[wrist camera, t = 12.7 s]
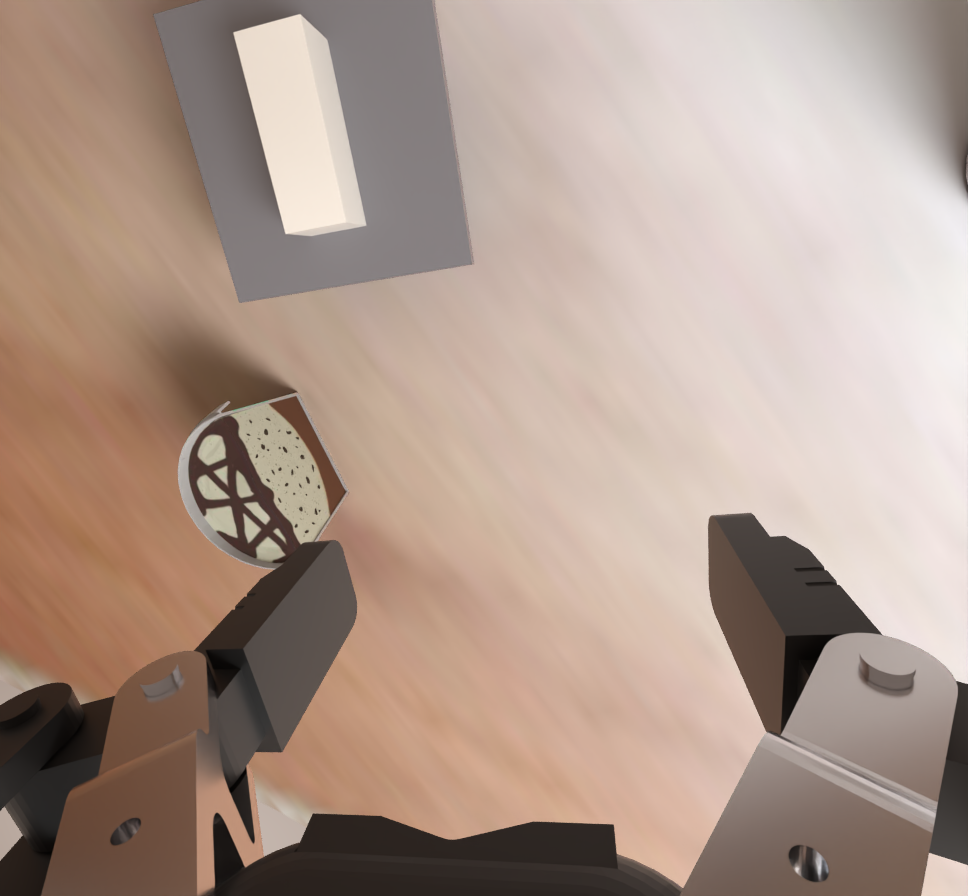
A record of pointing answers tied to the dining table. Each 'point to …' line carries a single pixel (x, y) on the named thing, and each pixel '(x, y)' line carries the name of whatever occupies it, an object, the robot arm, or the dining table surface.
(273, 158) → the lid
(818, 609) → the robot arm
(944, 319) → the dining table surface
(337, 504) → the food container
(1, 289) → the dining table surface
